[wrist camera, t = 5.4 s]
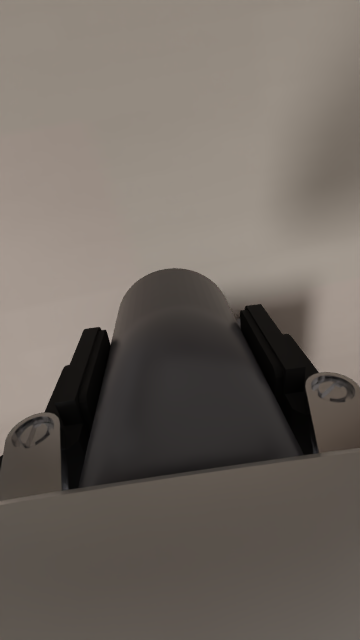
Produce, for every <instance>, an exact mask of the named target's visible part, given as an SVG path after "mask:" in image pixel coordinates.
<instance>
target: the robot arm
mask: <svg viewBox="0 0 360 640" xmlns="http://www.w3.org/2000/svg"><path fill="white" fill-rule="evenodd" d="M240 327H241V331H242V333H243V335H244V337H245V339H246V341H247V343H248V344H249V346H250V348H251V350H252V352H253V354H254V356H255V358H256V360H257V362H258V364H259V366H260V368H261V370H262V372H263V374H264V376H265V378H266V380H267V382H268V384H269V386H270V388H271V390H272V392H273V394H274V396H275V398H276V400H277V402H278V404H279V406H280V408H281V410H282V412H283V414H284V416H285V418H286V420H287V422H288V424H289V426H290V428H291V430H292V432H293V434H294V436H295V438H296V440H297V442H298V444H299V446H300V448H301V450H302V452H303V454H304V455H302V456H295V457H288V458H281V459H274V460H267V461H260V462H253V463H245V464H238V465H232V466H225V467H218V468H211V469H204V470H197V471H190V472H184V473H177V474H170V475H163V476H156V477H150V478H143V479H136V480H129V481H123V482H116V483H110V484H103V485H97V486H90V487H83V488H78V486H79V482H80V478H81V473H82V469H83V465H84V460H85V456H86V451H87V447H88V443H89V438H90V434H91V430H92V425H93V421H94V416H95V412H96V408H97V403H98V399H99V395H100V390H101V386H102V381H103V377H104V373H105V368H106V364H107V360H108V355H109V351H110V342H109V338H108V334H107V332H106V330H101V328H100V327H96V328H89V329H84V331H83V333H82V336H81V338H80V341H79V343H78V346H77V348H76V350H75V353H74V355H73V358H72V360H71V363H70V365H67V366H65V367H64V368H63V370H62V373H61V375H60V377H59V380H58V382H57V384H56V387H55V389H54V391H53V394H52V396H51V398H50V401H49V403H48V405H47V408H46V410H45V412H44V413H38V414H34V415H32V416H29V417H27V418H25V419H24V420H22V421H21V422H19V423H18V424H17V425H16V426H15V427H13V428H12V430H11V431H10V432H9V434H8V436H7V438H6V441H5V447H4V452H3V455H2V456H1V457H0V640H360V387H359V386H358V384H357V383H356V382H354V381H353V380H352V379H350V378H348V377H346V376H344V375H341V374H337V373H331V372H321V373H319V372H318V371H317V370H316V368H315V367H314V366H313V364H312V363H311V362H310V360H309V359H308V358H307V356H306V355H305V354H304V353H303V351H302V350H301V349H300V347H299V346H298V345H297V343H296V342H295V341H294V339H293V338H292V337H291V336H290V335H289V334H282V333H281V332H280V330H279V329H278V327H277V326H276V325H275V323H274V322H273V321H272V319H271V318H270V316H269V315H268V314H267V312H266V311H265V309H264V308H263V307H262V305H261V304H258V305H251V306H246V307H245V310H242V311H240Z"/></svg>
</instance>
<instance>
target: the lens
mask: <svg viewBox="0 0 360 640" xmlns="http://www.w3.org/2000/svg"><path fill="white" fill-rule="evenodd" d="M302 455H304V454H303V452H302V450H301V448H300V446H299V444H298V442H297V440H296V438H295V436H294V434H293V432H292V430H291V428H290V426H289V424H288V422H287V420H286V418H285V416H284V414H283V412H282V410H281V408H280V406H279V404H278V402H277V400H276V398H275V396H274V394H273V392H272V390H271V388H270V386H269V384H268V382H267V380H266V378H265V376H264V374H263V372H262V370H261V368H260V366H259V364H258V362H257V360H256V358H255V356H254V354H253V352H252V350H251V348H250V346H249V344H248V343H247V341H246V339H245V337H244V335H243V333H242V331H241V329H240V327H239V325H238V323H237V321H236V319H235V317H234V315H233V313H232V311H231V309H230V307H229V305H228V303H227V301H226V299H225V297H224V295H223V293H222V292H221V290H220V289H219V288H218V287H217V285H216V284H215V283H213V282H212V281H211V280H210V279H208V278H207V277H205V276H204V275H201V274H199V273H197V272H194V271H191V270H186V269H176V268H173V269H164V270H159V271H156V272H153V273H150V274H148V275H146V276H144V277H143V278H141V279H140V280H138V281H137V282H136V283H135V284H134V285H132V287H131V288H130V289H129V290H128V291H127V293H126V294H125V296H124V297H123V300H122V302H121V304H120V308H119V311H118V316H117V320H116V325H115V329H114V333H113V338H112V342H111V346H110V351H109V355H108V360H107V364H106V368H105V373H104V377H103V381H102V386H101V390H100V395H99V399H98V403H97V408H96V412H95V416H94V421H93V425H92V430H91V434H90V438H89V443H88V447H87V451H86V456H85V460H84V465H83V469H82V473H81V478H80V482H79V486H78V488H83V487H90V486H97V485H103V484H110V483H116V482H123V481H129V480H136V479H143V478H150V477H156V476H163V475H170V474H177V473H184V472H190V471H197V470H204V469H211V468H218V467H225V466H232V465H238V464H245V463H253V462H260V461H267V460H274V459H281V458H288V457H295V456H302Z"/></svg>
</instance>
